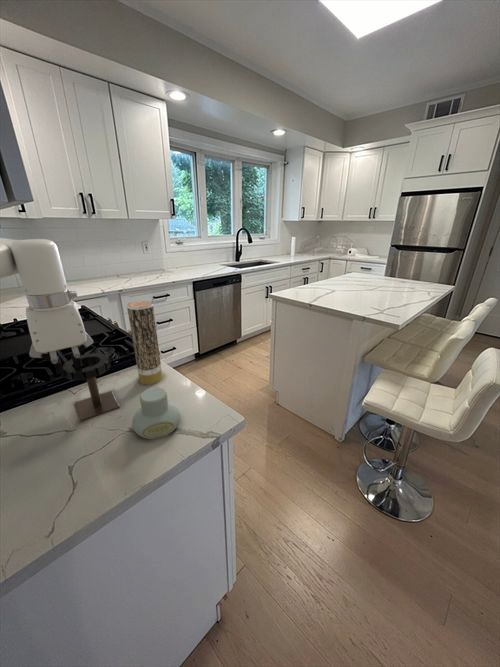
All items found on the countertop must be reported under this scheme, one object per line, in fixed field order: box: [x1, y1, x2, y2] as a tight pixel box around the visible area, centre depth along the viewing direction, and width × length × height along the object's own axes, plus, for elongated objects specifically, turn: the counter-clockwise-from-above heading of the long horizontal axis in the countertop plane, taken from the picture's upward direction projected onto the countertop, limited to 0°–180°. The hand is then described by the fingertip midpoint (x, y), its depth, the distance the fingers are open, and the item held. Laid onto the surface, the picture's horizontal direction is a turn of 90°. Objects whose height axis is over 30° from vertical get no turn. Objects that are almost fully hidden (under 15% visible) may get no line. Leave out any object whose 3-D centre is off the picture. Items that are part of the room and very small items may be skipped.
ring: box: [62, 352, 112, 381], centre depth 69 cm, size 10×10×2 cm
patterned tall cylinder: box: [126, 300, 163, 385], centre depth 82 cm, size 7×7×25 cm
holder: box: [75, 365, 121, 423], centre depth 71 cm, size 9×9×12 cm
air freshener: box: [131, 387, 181, 440], centre depth 65 cm, size 11×8×10 cm
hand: (70, 372), depth 67 cm, fingers closed on ring, 2 cm apart
